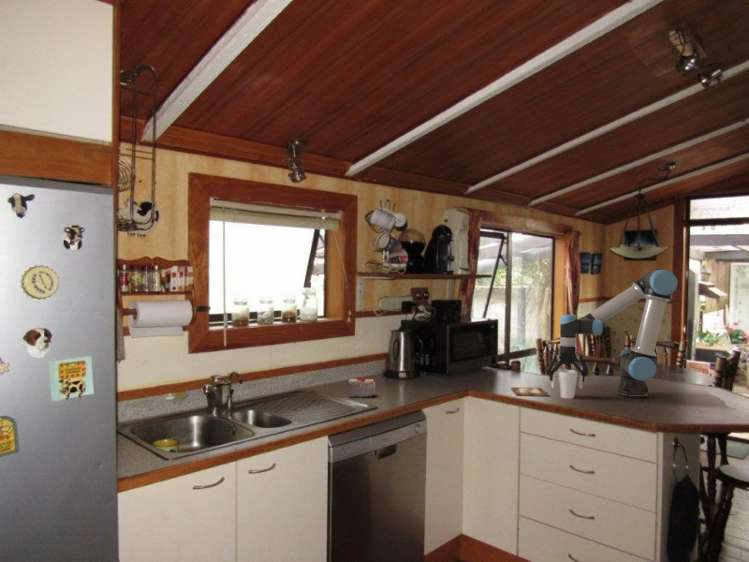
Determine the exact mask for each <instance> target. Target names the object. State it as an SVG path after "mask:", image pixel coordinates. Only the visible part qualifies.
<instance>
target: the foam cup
mask: <svg viewBox="0 0 749 562" xmlns="http://www.w3.org/2000/svg"><path fill="white" fill-rule="evenodd" d="M557 377H558V378H557V379H558V386H559V394H560V397H561V398H563V399H570V400H571V399H574V398H575V394H576V387H577V380H578V378H579V371H578V370H572V369H557Z"/></svg>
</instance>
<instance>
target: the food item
mask: <svg viewBox="0 0 749 562" xmlns="http://www.w3.org/2000/svg"><path fill="white" fill-rule="evenodd" d="M375 392H376V382H375V380H374V379H370V378H369V379H367V378H365V376H360V375H359V376H357V378H350V379H348V380H347V392H346V393H347V397H348V398H366V397H367V398H369V397H373V396H374V395H375V394H376V393H375Z"/></svg>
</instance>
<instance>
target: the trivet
mask: <svg viewBox="0 0 749 562" xmlns="http://www.w3.org/2000/svg"><path fill="white" fill-rule="evenodd" d="M510 390H511V391H512V393H513V394H514V395H515V396H516V397H542V398H543V397H544V398H547V397H548V398H549V397H550V394H549V393H548V392H546V391H545V390H544V389H543V388H542V387H522V386H521V387H516V386H515V387H512V386H511V387H510Z"/></svg>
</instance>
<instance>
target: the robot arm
mask: <svg viewBox="0 0 749 562" xmlns="http://www.w3.org/2000/svg"><path fill="white" fill-rule="evenodd" d="M677 287H678V279H677V277H676V276H675V274H674V273H673V272H671V271H669V270H666V269H654V270H651V271H648V272H646V273H645V274H643V276H641V277H640V278H638V279H636V281H634V282H633V283H632V285H631V286H630V287H628V288H627V289H624V290H623V291H622V292H620V293H619V294H617V295H615V296H614V297H612V298H611V299H609V300H608V301H606V302H605V303H603V304H602V305H600V306H599V307H597V308H595V309H593V310H592V311H591V312H589V313H587V314H585V315H584V316H581V317H579V318H578V317H577V315H576V314H562V315H561V317H560V322H559V324H560V325H559V326H560V329H559V330H560V331H559V333H560V334H559V335H560V336H559V339H560V340H559V354H557V355H556V354H553V355H552V359H551V361H550V363H549V365H548V366H547V368H546V373H547V374H549V381H551V388H552V389H555V384H556V383H555V380H556V379H555V378H556V377H555V373H556V372H557V371H558V370H559V368H560V367H561V366H563V365H573V366H574V367H575V369H576V371H577V372H578V373H579V374H578V381H579V382H578V388H579V389H583V383H584V382H585V377H586V375H589V371H588V368H587V366H586V364H585V363H584V360H583V356H582V355H580V354H579V355H576V352H577V351H576V350H577V347H576V345H577V335H589V336H590V335H591V336H601V335H602V333H603V323H604V322H606V321H608V320H609V319H610V318H612V317H614V316H616V315H617V314H618V313H620V312H621V311H624V310H625V309H628V307H630V306H632V305H633V304H635V303H636V302H638V301H639V300H641V299H645V302H644V303H645V304H644V308H643V312H642V317H641V320H640V324H639V329H638V333H637V337H636V340H635V345H634V347H632V348H631V349H622V350H620V355H619V357H620V362H619V365H620V369H619V371H620V373H619V374H620V375H619V377H620V378H619V381H618V385H617V387H616V391H617V392H619V393H617V392H615V393H616V394H617V395H618V396H621V397H626V398H633V399H634V398H635V399H637V398H638V399H644V397H646V398H649V397H650V390H649V388H648V384H647V382H646V381H649V380H651V379H652V378H653V377H654V376H655V375H656V372H657V366H656V360H657V354H656V352H655V350H656V346H657V345H656V344H657V342H658V337H659V334H660V329H661V326H662V321H663V317H664V313H665V309H666V305H667V303H669V302H670V301H671V299H672V296H673V293H674V292H675V291H676V289H677ZM558 359H559V361H558V362H557V360H558ZM576 360H577V361H579V364H580V366H581V368H580V366H579V365H578V364H577V362H576ZM556 362H557V363H556ZM555 364H556V365H555ZM554 365H555V366H554ZM620 393H623V394H627V395H623V394H620ZM648 393H649V395H648V396H649V397H648V396H629V395H645V394H648Z"/></svg>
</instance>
